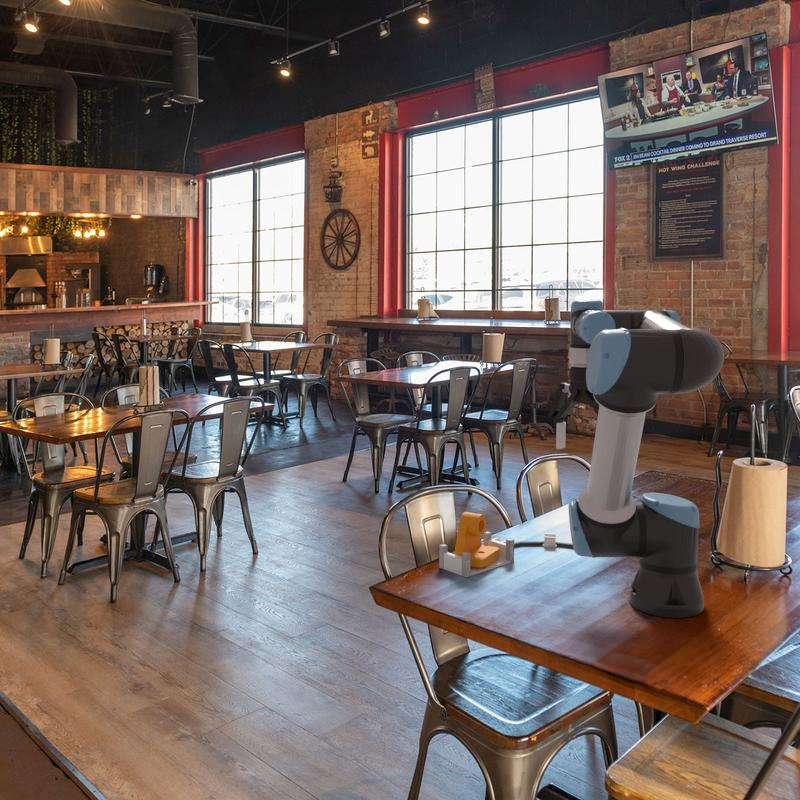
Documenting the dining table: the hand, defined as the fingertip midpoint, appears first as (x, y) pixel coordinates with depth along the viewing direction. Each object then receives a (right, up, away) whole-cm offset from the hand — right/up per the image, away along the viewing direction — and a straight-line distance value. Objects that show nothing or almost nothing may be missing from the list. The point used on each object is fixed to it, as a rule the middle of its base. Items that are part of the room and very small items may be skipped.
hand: (583, 452), depth 203 cm
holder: (-26, -27, 0) cm, 37 cm away
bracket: (-26, -27, 0) cm, 37 cm away
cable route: (-11, -25, +11) cm, 30 cm away
